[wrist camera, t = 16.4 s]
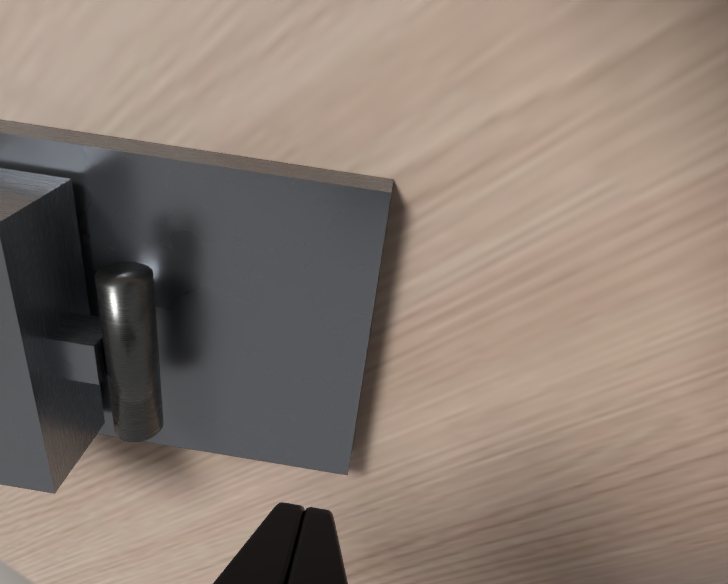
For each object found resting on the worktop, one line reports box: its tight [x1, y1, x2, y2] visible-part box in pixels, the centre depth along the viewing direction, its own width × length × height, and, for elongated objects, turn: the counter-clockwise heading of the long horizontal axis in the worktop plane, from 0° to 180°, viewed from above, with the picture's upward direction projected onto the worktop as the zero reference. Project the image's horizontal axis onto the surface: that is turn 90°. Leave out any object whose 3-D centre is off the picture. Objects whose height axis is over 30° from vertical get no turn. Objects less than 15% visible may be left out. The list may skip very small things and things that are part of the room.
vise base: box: [0, 120, 393, 475], centre depth 19 cm, size 22×12×5 cm, turn 83°
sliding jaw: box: [0, 168, 164, 494], centre depth 19 cm, size 6×10×4 cm, turn 173°
